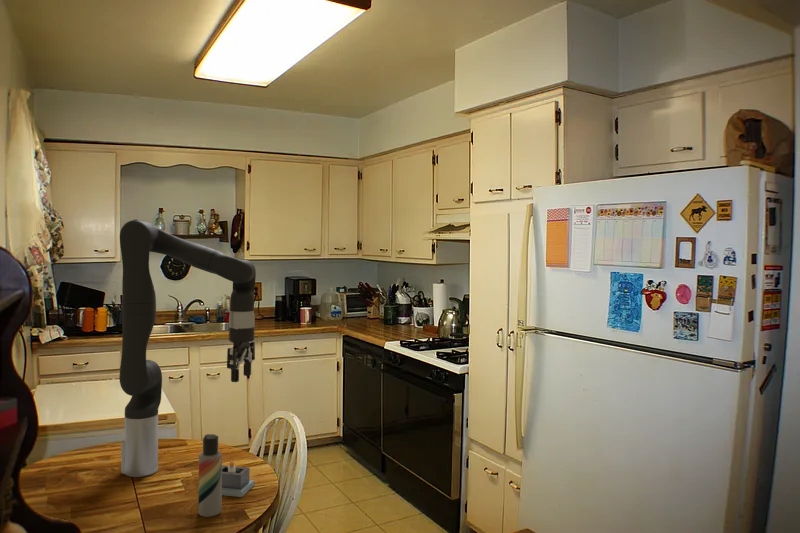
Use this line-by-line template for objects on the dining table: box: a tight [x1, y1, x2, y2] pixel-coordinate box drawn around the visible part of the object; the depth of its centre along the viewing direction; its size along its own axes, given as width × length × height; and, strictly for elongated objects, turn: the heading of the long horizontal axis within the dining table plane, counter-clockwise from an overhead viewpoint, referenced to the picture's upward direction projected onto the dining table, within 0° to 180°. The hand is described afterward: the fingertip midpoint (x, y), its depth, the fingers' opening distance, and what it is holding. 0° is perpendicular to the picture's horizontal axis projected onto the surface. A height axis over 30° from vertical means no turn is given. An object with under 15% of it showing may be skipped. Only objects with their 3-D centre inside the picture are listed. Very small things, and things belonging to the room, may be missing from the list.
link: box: [222, 464, 250, 489], centre depth 166 cm, size 8×6×4 cm
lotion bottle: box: [197, 433, 223, 518], centre depth 152 cm, size 6×6×20 cm
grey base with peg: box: [222, 460, 255, 498], centre depth 166 cm, size 10×8×8 cm
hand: (241, 378), depth 180 cm, fingers open, 8 cm apart
